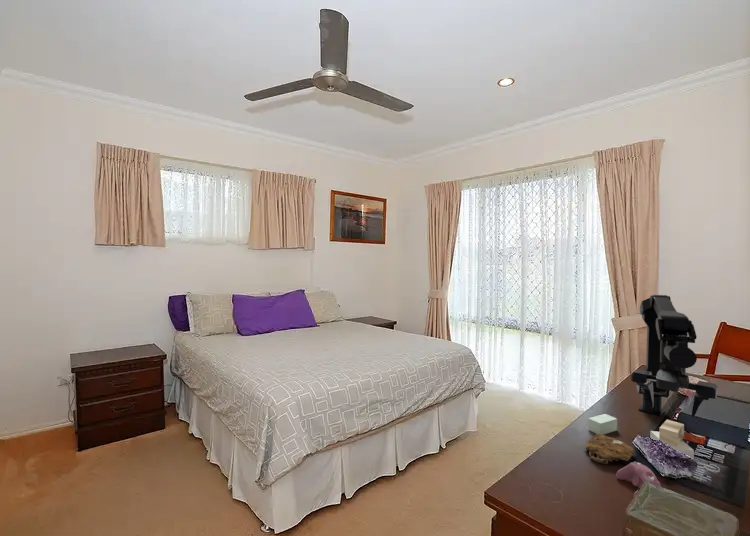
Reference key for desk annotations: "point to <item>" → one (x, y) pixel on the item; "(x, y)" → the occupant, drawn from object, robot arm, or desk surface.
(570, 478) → the desk surface
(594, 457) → the decorative rock
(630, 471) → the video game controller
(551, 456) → the desk surface
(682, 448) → the white brick
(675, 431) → the birch brick
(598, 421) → the sage brick
